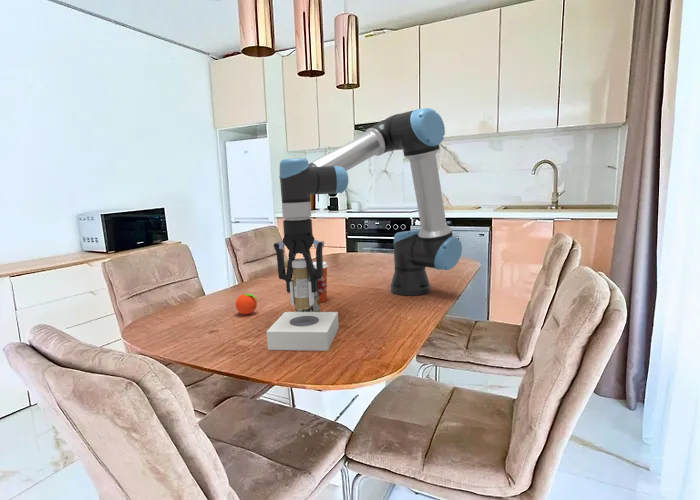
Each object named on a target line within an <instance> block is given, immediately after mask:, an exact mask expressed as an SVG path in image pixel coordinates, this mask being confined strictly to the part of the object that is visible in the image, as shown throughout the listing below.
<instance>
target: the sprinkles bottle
mask: <svg viewBox="0 0 700 500" xmlns="http://www.w3.org/2000/svg"><path fill="white" fill-rule="evenodd" d="M292 269H293V276H292V277H293V278H292V280H293V285H294V297H295V305H294V309H295V310H296V309H298V310H303V309H308V308H310V307H311V305H309V292H308V281H309V273H308V269H307V266H306V261H305V259H304V257H303V258H295V259H294V260H293V261H292Z"/></svg>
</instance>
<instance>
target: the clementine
mask: <svg viewBox="0 0 700 500" xmlns="http://www.w3.org/2000/svg"><path fill="white" fill-rule="evenodd" d="M258 302H259V301H258V298H257V296H255V295H253V294H251V293H242V294H241V295H239V296H238V297H237V299H236V300H235V308H236V310H237V311H238V313H240V314H242V315H250V314H252V313H254V312H255V311H256V309H257V307H258Z"/></svg>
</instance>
